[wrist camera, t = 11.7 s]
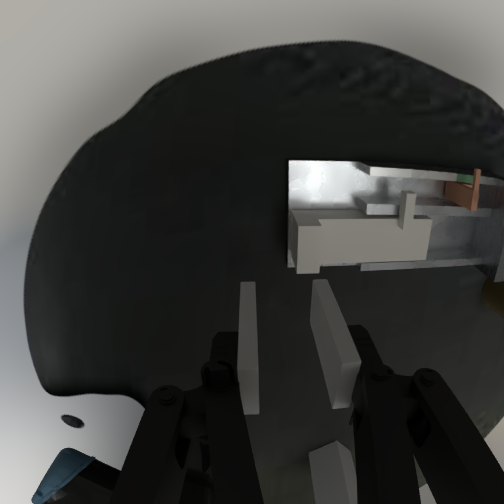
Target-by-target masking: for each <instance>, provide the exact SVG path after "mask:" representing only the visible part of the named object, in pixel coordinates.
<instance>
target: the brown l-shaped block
mask: <svg viewBox="0 0 504 504" xmlns="http://www.w3.org/2000/svg"><path fill="white" fill-rule="evenodd" d="M480 175H481V169H477V168H474V176H473V185H472V184H469V183H466V182H457V181H448V180H446V186H445V195H444V197H445V198H447V199H449V200H451V201H453V202H455V203H457V204H459V205H461V206H462V207H464V208H466V209H468V210H470V211H476V210H477V203H478V197H479V183H480Z"/></svg>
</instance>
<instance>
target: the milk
mask: <svg viewBox="0 0 504 504" xmlns="http://www.w3.org/2000/svg"><path fill="white" fill-rule="evenodd" d="M308 454H309V461H310V468H311V475H312V482H313V489H314V496H315V503H316V504H357V479H356V473H355V468H354V464H353V460H352V456H351V452H350V450H349V449H347V448H346V447H345V446H343V445H342V444H341V443H340V442H338V441H337V440H336V441H334V442H332V443H330V444H327V445H325V446H323V447H320V448H318V449H316V450H313V451H311V452H309V453H308Z"/></svg>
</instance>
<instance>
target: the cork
mask: <svg viewBox="0 0 504 504" xmlns="http://www.w3.org/2000/svg"><path fill="white" fill-rule="evenodd" d="M481 298H482V302H483V303H484V304H485V305H486V306H488V307H489V308H491V309H492V310H493V311H495V312H496V313H498V314H499V315H500V316H502V317H503V318H504V281H500V282H493V281H492V280H491V279H489V278H488V279H487V281H486V282H485V284H484V287H483V289H482V294H481Z"/></svg>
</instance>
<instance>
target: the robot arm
mask: <svg viewBox="0 0 504 504" xmlns="http://www.w3.org/2000/svg"><path fill="white" fill-rule="evenodd" d="M310 324H311V328H312V331H313V335H314V339H315V343H316V346H317V350H318V354H319V358H320V362H321V366H322V369H323V373H324V377H325V381H326V385H327V389H328V393H329V397H330V401H331V405H332V409H337V408H345V407H350V404H351V400H352V401H353V404H354V409H353V413H352V416H351V419H350V423H349V425H352V423H353V429H354V443H355V459H356V479H357V504H421V500H420V493H419V486H418V480H417V474H416V468H415V462H414V457H413V454H414V456H415V458H416V461H417V463H418V465H419V467H420V469H421V471H422V473H423V475H424V477H425V479H426V481H427V484H428V486H429V488H430V490H431V492H432V494H433V496H434V499H435V501H436V503H437V504H504V471H503V470H502V468H501V466H500V465H499V463H498V461H497V460H496V458H495V456H494V455H493V453H492V451H491V450H490V448H489V447H488V445H487V444H486V442H485V441H484V439H483V437H482V436H481V434H480V433H479V431H478V429H477V428H476V426H475V425H474V423H473V422H472V420H471V419H470V417H469V416H468V414H467V413H466V411H465V410H464V408H463V407H462V405H461V404H460V402H459V401H458V400H457V398H456V397H455V395H454V394H453V392H452V391H451V389H450V388H449V387H448V385H447V384H446V382H445V381H444V380H443V378H442V377H441V375H440V374H439V373H438V372H437V371H435V370H433V369H429V368H422V369H419V370H417V371H416V372H415V373H414V375H413V376H402V375H397V374H395V373H394V371H393V370H392V369H391V368H390V367H389V366H386V365H384V364H383V362H382V360H381V358H380V356H379V354H378V352H377V350H376V348H375V345H374V343H373V341H372V339H371V337H370V335H369V333H368V331H367V330H366V329H365V328H364V327H362V326H361V325H350V326H347V325H346V323H345V320H344V318H343V315H342V313H341V311H340V308H339V306H338V304H337V301H336V299H335V297H334V295H333V292H332V290H331V288H330V285H329V283H328V281H327V279H319V280H313V287H312V300H311V313H310ZM201 376H202V382H203V385H201V386H200V387H198V388H196V389H193V390H189V391H184V392H182V390H181V389H179V388H178V387H175V386H162V387H159V388H157V389H156V390H154V391H153V393H152V394H151V396H150V398H149V401H148V403H147V406H146V408H145V411H144V413H143V416H142V418H141V421H140V423H139V426H138V428H137V431H136V434H135V436H134V438H133V441H132V444H131V446H130V449H129V451H128V454H127V456H126V459H125V462H124V465H123V467H122V470H121V471H120V470H118V469H116V468H113V467H111V466H109V465H107V464H105V463H103V462H101V461H99V460H97V459H95V457H93V456H92V457H90V456H88V455H86V454H84V453H82V452H80V451H77V450H75V449H73V448H65V449H63V450H61V451H60V452H59V454H58V455H57V457H56V458H55V460H54V462H53V463H52V465H51V466H50V468H49V469H48V471H47V473H46V474H45V476H44V478H43V480H42V481H41V483H40V485H39V487H38V489H37V491H36V492H35V494H34V495H33V497H32V503H34V504H264V502H263V497H262V493H261V489H260V485H259V480H258V476H257V471H256V467H255V462H254V458H253V453H252V449H251V444H250V439H249V435H248V430H247V425H246V420H245V415H244V414H259V372H258V343H257V317H256V291H255V282H241V287H240V311H239V332H218V333H217V334H216V335H215V337H214V338H213V341H212V349H211V356H210V361H208V362H206V363H205V364H204V365H203V366H202V369H201Z"/></svg>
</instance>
